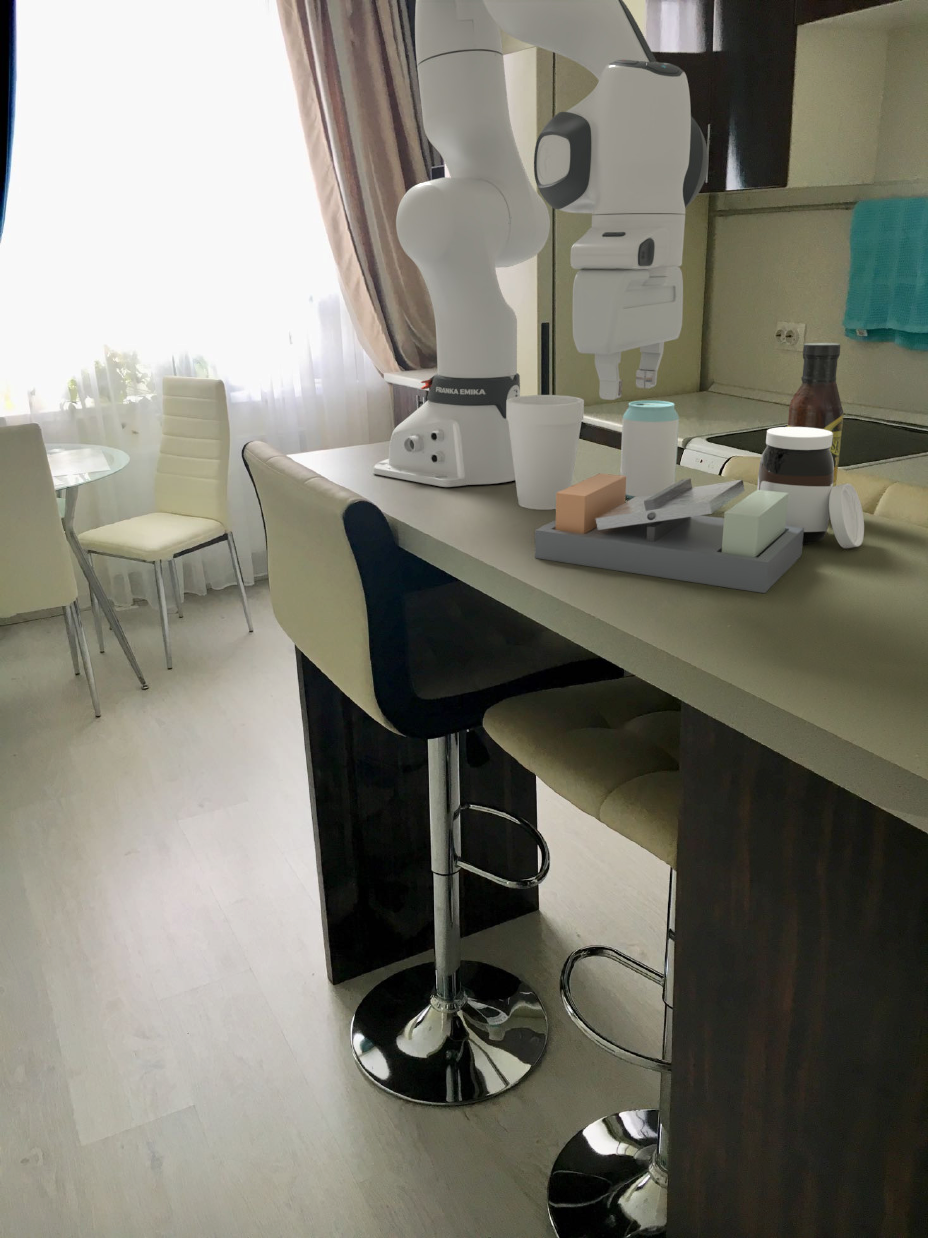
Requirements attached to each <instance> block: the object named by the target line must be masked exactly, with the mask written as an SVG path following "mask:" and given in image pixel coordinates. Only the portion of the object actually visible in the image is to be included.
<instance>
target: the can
mask: <svg viewBox="0 0 928 1238" xmlns="http://www.w3.org/2000/svg"><path fill="white" fill-rule="evenodd" d="M675 406H676V404H675V403H674V402H670V401H666V400H636V401H631V402H628V408H627V409H626V410H625V412H624V413H623V414H622V415H623V416H622V424H621V425H622V427H621V447H620V448H621V449H620V452H621V454H620V475H621V476H626V494H625V498H626V499H628V500H631V499H632V498H634V497H636V496H643V495H649V494H655V493H659V492H661V491H663V490H664V489H666V488H668V487H670V486H671V485H673V484H675V483H676V472H677V469H676V468H677V458H678V443H679V429H680V428H679V425H680V417H679V414H678V412H677V411H676V409H675Z"/></svg>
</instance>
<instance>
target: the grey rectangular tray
mask: <svg viewBox="0 0 928 1238" xmlns="http://www.w3.org/2000/svg"><path fill="white" fill-rule="evenodd" d="M723 527H724V517H717V516H716V517H715V516H708V515H698V516H691V517H684V518H677V519H670V520H663V521H657V522H650V523H643V524H636V525H629V526H622V527H615V528H608V529H601V530H598V528H597V527H596V528H594V529H593V530H591V531H589V532H587V533H585V534H582V533H575V532H568V531H560V530H556V519H554V520H553V521H550V522H549V523H547V524H544V525H542V526H541V527H539V528H537V529H535V530H534V531H535V532H534V533H535V535H534V558H535V559H541V560H546V561H553V562H559V563H565V564H573V565H579V566H585V567H592V568H598V569H605V570H612V571H619V572H625V573H630V574H631V573H633V574H638V575H644V576H649V577H650V576H651V577H657V578H664V579H670V580H677V581H683V582H689V583H695V584H696V583H697V584H702V585H710V586H714V587H715V586H716V587H723V588H729V589H734V590H742V591H748V592H754V593H763V594H766V593H767V592H768V590H769V589H771V587H772V586H774V584H775V583H776V582H777V581H778V580H779V579H780V578H781V577H782V576H784V574H785V573H786V572H787V571H788V570H789V569H790V568H791V567H792V566H793V565H794V564H795V563H796V562H797V561H798V559H800V557H801V556H802V553H803V544H802V543H803V534H804V528H801V527H793V526H785V531H784V532H783V533H782V534H781V535H780V536H779V537H778V538H776V539H775V540H774V541H773V542H772V543H771V544H770V545H769V546H768V547H766V548H765V549H764V550H763V551H762V552H761V553H760V554H759V555H758V556H756V557H750V556H743V555H736V554H728V553H721V552H722V540H723Z"/></svg>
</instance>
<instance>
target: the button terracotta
mask: <svg viewBox="0 0 928 1238" xmlns="http://www.w3.org/2000/svg"><path fill="white" fill-rule="evenodd" d="M625 494H626V476H621V475H619V474H612V473H611V474H610V473H609V474H608V473H597V474H595V475H593V476H591V477H588V478H586V479H584V480H582V481H579V482H577V483H575V484H572V485H571V486H570V487H568V488H566V489H564V490H562V491H559V492H557V493H556V509H555V520H556V530H560V531H568V532H575V533H582V534H585V533H587V532H589V531H591V530H593V529H594V528H596V527H597V523H596V519H595V518H597V517H599V516H601V515H603V514H605V513H607V512H608V511H610V510H612V509H614V508H616V507H618V506H619V505H621V504H623V503H625V502H626V496H625Z"/></svg>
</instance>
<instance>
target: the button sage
mask: <svg viewBox="0 0 928 1238" xmlns="http://www.w3.org/2000/svg"><path fill="white" fill-rule="evenodd" d="M787 502H788V493H783V492H774V491H764V490H757V489H756V490H754V491H753V492H752V493H750V494H749V495H747V496H746V497H745V498H743V499H742V500H740V501H739V502H738V503H736V504H735V505H734V506H732V507H730V508H729V509H728V510H726V511H725V512H724V515H723V518H724V527H723V540H722V552H721V553H728V554H736V555H743V556H750V557H759V556H760V555H761V554H762V553H761V552H762V551H763V550H764V549H765V548H766V547H768V546H769V545H770V544H771V543H772V542H773V541H774V540H775V539H776V538H778V537H779V536H780V535H781V534H782V533H783V532H784V531H785V522H786V512H787Z"/></svg>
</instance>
